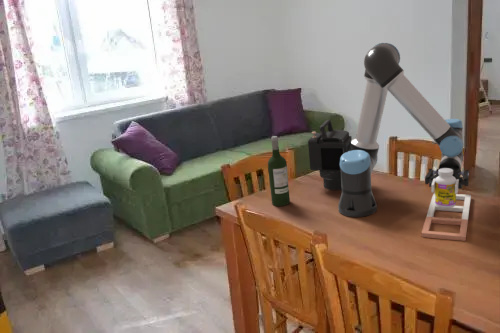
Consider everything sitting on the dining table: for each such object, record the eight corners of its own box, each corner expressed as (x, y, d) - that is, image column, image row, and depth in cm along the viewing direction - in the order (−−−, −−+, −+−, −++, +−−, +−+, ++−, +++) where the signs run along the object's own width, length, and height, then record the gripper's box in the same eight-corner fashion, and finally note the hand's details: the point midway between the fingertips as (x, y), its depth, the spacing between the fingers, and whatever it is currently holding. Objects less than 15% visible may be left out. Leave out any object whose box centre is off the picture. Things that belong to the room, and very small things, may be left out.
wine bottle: (281, 207, 208) (274, 140, 199) (268, 203, 213) (261, 138, 204) (293, 201, 212) (287, 135, 203) (281, 198, 218) (274, 133, 209)
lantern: (350, 191, 216) (346, 126, 207) (311, 190, 223) (306, 126, 214) (356, 180, 229) (353, 118, 220) (319, 179, 236) (314, 118, 227)
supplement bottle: (434, 208, 167) (434, 173, 163) (435, 201, 173) (435, 166, 169) (456, 209, 164) (456, 173, 160) (456, 201, 170) (456, 167, 166)
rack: (433, 196, 201) (433, 192, 200) (470, 198, 195) (470, 194, 194) (421, 236, 169) (421, 232, 168) (465, 240, 162) (465, 236, 162)
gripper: (478, 177, 178) (476, 201, 159) (422, 175, 187) (413, 198, 167) (479, 158, 176) (476, 180, 156) (422, 157, 185) (413, 177, 165)
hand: (444, 189), depth 162 cm, fingers closed on supplement bottle, 7 cm apart
